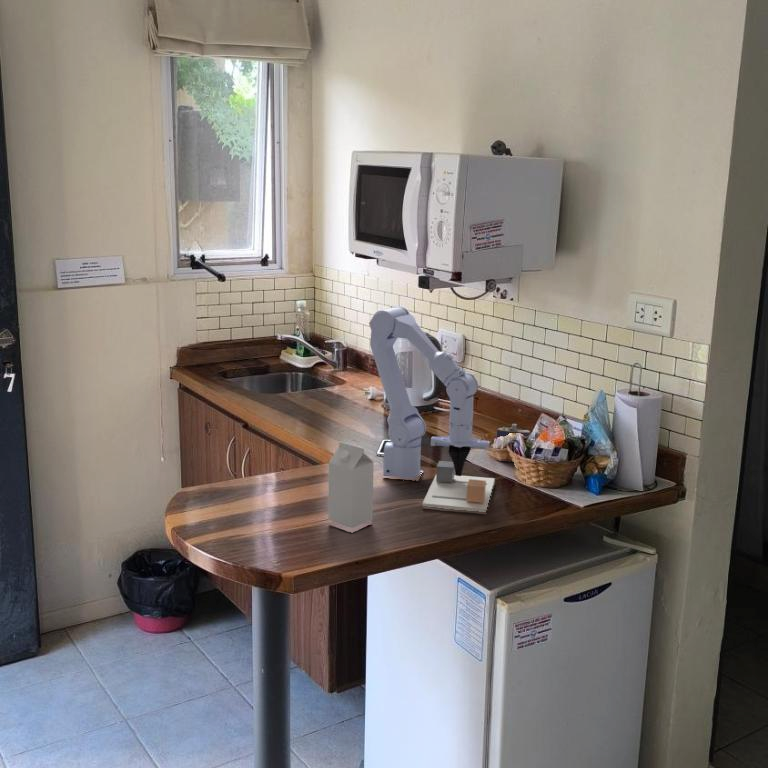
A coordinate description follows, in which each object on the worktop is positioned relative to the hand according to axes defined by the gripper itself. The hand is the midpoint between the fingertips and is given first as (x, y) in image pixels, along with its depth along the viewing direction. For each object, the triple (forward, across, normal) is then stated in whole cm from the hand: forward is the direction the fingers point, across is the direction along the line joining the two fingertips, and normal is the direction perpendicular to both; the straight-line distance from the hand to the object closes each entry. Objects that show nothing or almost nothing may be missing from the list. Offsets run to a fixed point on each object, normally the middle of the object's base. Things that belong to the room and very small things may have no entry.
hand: (458, 474), depth 231 cm
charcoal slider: (+1, -3, 0) cm, 4 cm away
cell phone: (+4, -22, +27) cm, 35 cm away
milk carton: (+4, -20, -31) cm, 37 cm away
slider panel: (+3, +1, -6) cm, 7 cm away
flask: (+4, +12, +25) cm, 28 cm away
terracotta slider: (+2, +6, -12) cm, 13 cm away
